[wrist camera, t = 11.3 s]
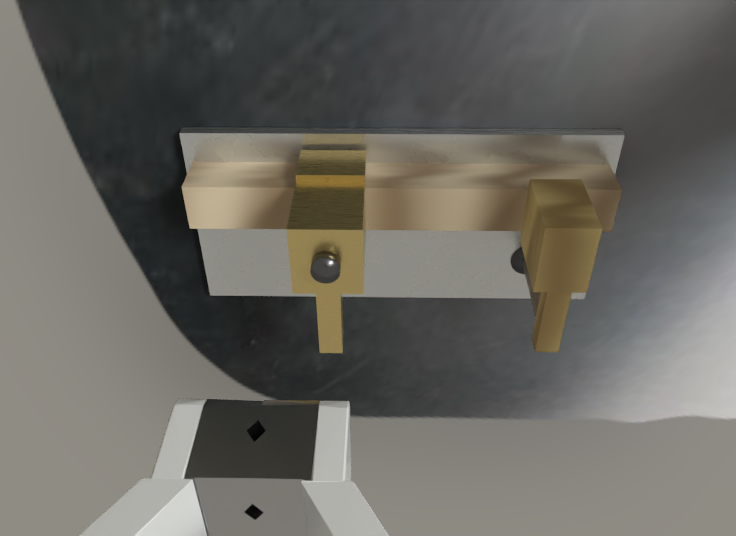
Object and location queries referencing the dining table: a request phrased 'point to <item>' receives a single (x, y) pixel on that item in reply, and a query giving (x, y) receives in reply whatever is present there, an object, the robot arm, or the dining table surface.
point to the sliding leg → (328, 235)
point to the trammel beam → (445, 213)
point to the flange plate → (390, 247)
